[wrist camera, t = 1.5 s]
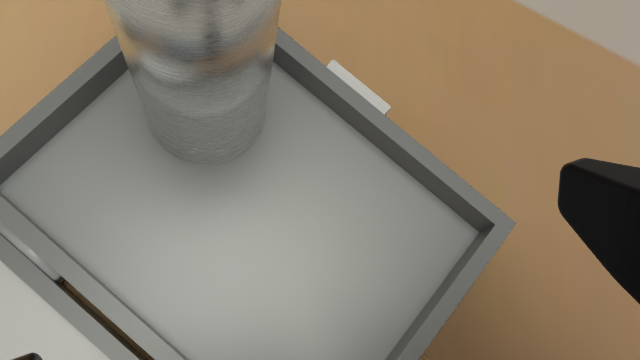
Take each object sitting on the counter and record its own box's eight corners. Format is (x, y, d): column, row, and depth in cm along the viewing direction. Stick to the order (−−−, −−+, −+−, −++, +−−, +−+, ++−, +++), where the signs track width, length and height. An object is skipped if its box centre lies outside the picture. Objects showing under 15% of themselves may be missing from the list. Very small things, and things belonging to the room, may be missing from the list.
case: (497, 223, 25) (525, 210, 22) (305, 485, 21) (315, 503, 19) (212, -11, 26) (210, -48, 24) (-18, 196, 22) (-48, 178, 20)
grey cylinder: (288, 106, 24) (349, -156, 11) (210, 188, 22) (184, -11, 10) (203, 35, 24) (173, -295, 12) (121, 112, 23) (-11, -171, 10)
